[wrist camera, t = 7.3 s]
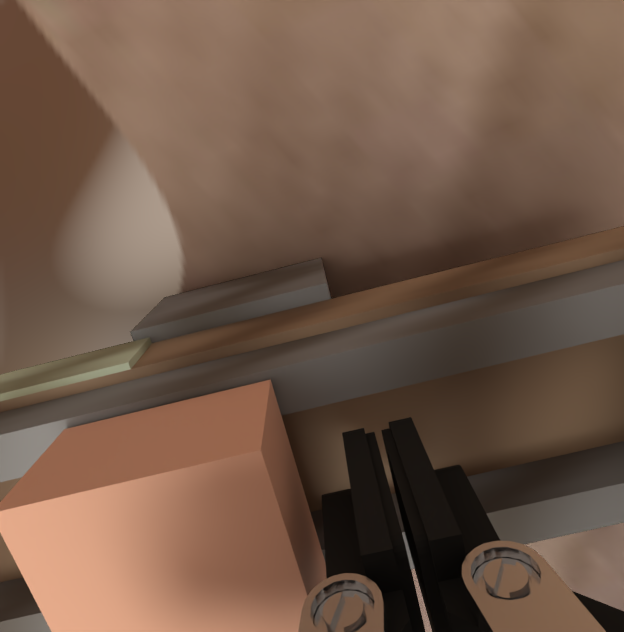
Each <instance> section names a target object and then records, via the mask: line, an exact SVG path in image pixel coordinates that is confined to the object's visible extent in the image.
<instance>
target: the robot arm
mask: <svg viewBox="0 0 624 632" xmlns="http://www.w3.org/2000/svg"><path fill="white" fill-rule="evenodd" d="M381 431H382V436H383V440H384V445H385V449H386V454H387V458H388V462H389V467H390V471H391V475H392V480H393V484H394V489H395V493H396V497H397V502H398V506H399V510H400V515H401V519H402V524H403V528H404V532H405V536H406V539H407V543H408V546H409V550H410V554H411V557H412V561H413V564H414V568H415V571H416V575H417V578H418V582H419V586H420V589H421V593H422V596H423V600H424V603H425V607H426V611H427V614H428V618H429V621H430V625H431V628H432V632H624V611H621V610H619V609H616V608H613V607H611V606H608V605H606V604H603V603H601V602H598V601H596V600H593V599H591V598H588V597H586V596H583V595H581V594H578V593H576V592H573V591H571V590H570V589H569V587H568V586H567V585H566V584H565V583H564V581H563V580H562V579H561V578H560V577H559V576H558V574H557V573H556V572H555V571H554V570H553V569H552V567H551V566H550V565H549V564H548V563H547V561H546V560H545V559H544V558H543V557H542V556H541V555H539V554H538V553H537V552H536V551H535V550H533V549H531V548H529V547H527V546H525V545H523V544H520V543H516V542H512V541H500V539H499V537H498V535H497V533H496V531H495V529H494V527H493V525H492V523H491V522H490V520H489V518H488V516H487V514H486V512H485V510H484V508H483V506H482V504H481V503H480V501H479V499H478V497H477V495H476V493H475V491H474V489H473V487H472V485H471V484H470V482H469V480H468V478H467V476H466V474H465V472H464V470H463V469H462V467H461V465H454V466H450V467H445V468H441V469H436V470H434V469H433V467H432V464H431V462H430V460H429V457H428V455H427V453H426V450H425V448H424V446H423V443H422V441H421V439H420V436H419V434H418V432H417V429H416V427H415V425H414V423H413V420H412V418H411V417H409V418H405V419H400V420H396V421H391V422H389V428H388V429H384V430H381ZM342 436H343V442H344V449H345V455H346V462H347V468H348V475H349V481H350V489H346V490H341V491H337V492H332V493H328V494H323V495H322V514H323V530H324V546H325V562H326V578H327V579H325V580H323V581H321V582H320V583H319V584H318V585H317V586H315V587H314V588H313V589H312V590H311V592H310V593H309V594H308V596H307V597H306V599H305V602H304V605H303V608H302V612H301V618H300V624H299V630H298V632H425V629H424V624H423V620H422V615H421V611H420V607H419V602H418V598H417V594H416V589H415V585H414V581H413V576H412V572H411V568H410V563H409V559H408V555H407V551H406V547H405V543H404V539H403V535H402V531H401V528H400V524H399V520H398V517H397V513H396V509H395V506H394V502H393V498H392V495H391V491H390V487H389V484H388V480H387V476H386V473H385V469H384V465H383V462H382V458H381V454H380V451H379V447H378V443H377V440H376V436H375V433H374V432H371V433H366V434H365V430H364V428H361V429H356V430H352V431H347V432H343V433H342Z"/></svg>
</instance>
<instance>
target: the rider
mask: <svg viewBox="0 0 624 632" xmlns="http://www.w3.org/2000/svg"><path fill="white" fill-rule="evenodd" d="M0 533H1V535H2V537H3V539H4V541H5V543H6V545H7V547H8V549H9V551H10V552H11V554H12V556H13V558H14V560H15V562H16V564H17V566H18V568H19V570H20V572H21V574H22V576H23V578H24V580H25V581H26V583H27V585H28V587H29V589H30V591H31V593H32V595H33V597H34V599H35V601H36V603H37V605H38V607H39V608H40V610H41V612H42V614H43V616H44V618H45V620H46V622H47V624H48V626H49V628H50V630H51V632H298V630H299V624H300V618H301V612H302V608H303V605H304V602H305V599H306V597H307V596H308V594H309V593H310V592H311V590H312V589H313V588H314V587H315V586H317V585H318V584H319V583H320V582H321V581H323V580H325V579H327V578H326V563H325V560H324V556H323V553H322V550H321V546H320V543H319V540H318V536H317V533H316V529H315V526H314V523H313V519H312V516H311V513H310V509H309V506H308V503H307V499H306V496H305V493H304V489H303V486H302V483H301V479H300V476H299V473H298V469H297V466H296V463H295V459H294V456H293V453H292V449H291V446H290V443H289V439H288V436H287V433H286V429H285V426H284V423H283V419H282V416H281V413H280V409H279V406H278V403H277V399H276V396H275V393H274V389H273V386H272V383H271V379H270V380H266V381H262V382H258V383H254V384H250V385H245V386H241V387H237V388H233V389H229V390H225V391H221V392H216V393H212V394H208V395H204V396H200V397H196V398H192V399H187V400H183V401H179V402H175V403H171V404H167V405H163V406H158V407H154V408H150V409H146V410H142V411H138V412H134V413H129V414H125V415H121V416H117V417H113V418H109V419H105V420H100V421H96V422H92V423H88V424H84V425H80V426H76V427H71V428H67V429H64V430H63V431H62V432H61V434H60V435H59V436H58V437H57V438H56V439H55V440H54V442H53V443H52V444H51V445H50V446H49V447H48V448H47V450H46V451H45V452H44V453H43V454H42V455H41V456H40V457H39V459H38V460H37V461H36V462H35V463H34V464H33V465H32V467H31V468H30V469H29V470H28V471H27V472H26V473H25V475H24V476H23V477H22V478H21V479H20V480H19V481H18V482H17V484H16V485H15V486H14V487H13V488H12V489H11V490H10V492H9V493H8V494H7V495H6V496H5V497H4V498H3V500H2V501H1V502H0Z"/></svg>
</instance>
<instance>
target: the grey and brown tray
mask: <svg viewBox="0 0 624 632" xmlns="http://www.w3.org/2000/svg"><path fill="white" fill-rule="evenodd" d="M131 335H132V338H133V342H128V343H124V344H120V345H117V346H113V347H108V348H105V349H100V350H96V351H92V352H88V353H84V354H81V355H76V356H72V357H68V358H64V359H60V360H56V361H52V362H48V363H44V364H40V365H36V366H32V367H28V368H24V369H20V370H16V371H12V372H8V373H4V374H0V502H1V501H2V500H3V498H4V497H5V496H6V495H7V494H8V493H9V492H10V490H11V489H12V488H13V487H14V486H15V485H16V484H17V482H18V481H19V480H20V479H21V478H22V477H23V476H24V475H25V473H26V472H27V471H28V470H29V469H30V468H31V467H32V465H33V464H34V463H35V462H36V461H37V460H38V459H39V457H40V456H41V455H42V454H43V453H44V452H45V451H46V450H47V448H48V447H49V446H50V445H51V444H52V443H53V442H54V440H55V439H56V438H57V437H58V436H59V435H60V434H61V432H62V431H63V430H64V429H67V428H71V427H76V426H80V425H84V424H88V423H92V422H96V421H100V420H105V419H109V418H113V417H117V416H121V415H125V414H129V413H134V412H138V411H142V410H146V409H150V408H154V407H158V406H163V405H167V404H171V403H175V402H179V401H183V400H187V399H192V398H196V397H200V396H204V395H208V394H212V393H216V392H221V391H225V390H229V389H233V388H237V387H241V386H245V385H250V384H254V383H258V382H262V381H266V380H270V379H271V383H272V386H273V389H274V393H275V396H276V399H277V403H278V406H279V409H280V413H281V416H282V419H283V423H284V426H285V429H286V433H287V436H288V439H289V443H290V446H291V449H292V453H293V456H294V459H295V463H296V466H297V469H298V473H299V476H300V479H301V483H302V486H303V489H304V493H305V496H306V499H307V503H308V506H309V509H310V513H311V516H312V519H313V523H314V526H315V529H316V533H317V536H318V540H319V543H320V546H321V550H322V553H323V556H324V560H325V546H324V530H323V514H322V495H323V494H328V493H332V492H337V491H341V490H346V489H350V481H349V475H348V468H347V462H346V455H345V449H344V442H343V436H342V433H343V432H347V431H352V430H356V429H361V428H364V430H365V434H366V433H371V432H374V433H375V436H376V440H377V443H378V447H379V451H380V454H381V458H382V462H383V465H384V469H385V473H386V476H387V480H388V484H389V487H390V491H391V495H392V498H393V502H394V506H395V509H396V513H397V517H398V520H399V524H400V528H401V531H402V535H403V539H404V543H405V547H406V551H407V555H408V559H409V563H410V568H411V569H414V564H413V561H412V557H411V554H410V550H409V546H408V543H407V539H406V536H405V532H404V528H403V524H402V519H401V515H400V510H399V506H398V502H397V497H396V493H395V489H394V484H393V480H392V475H391V471H390V467H389V462H388V458H387V454H386V449H385V445H384V440H383V436H382V431H381V430H384V429H388V428H389V422H391V421H396V420H400V419H405V418H409V417H411V418H412V420H413V423H414V425H415V427H416V429H417V432H418V434H419V436H420V439H421V441H422V443H423V446H424V448H425V450H426V453H427V455H428V457H429V460H430V462H431V464H432V467H433V469H434V470H436V469H441V468H445V467H450V466H454V465H461V467H462V469H463V470H464V472H465V474H466V476H467V478H468V480H469V482H470V484H471V485H472V487H473V489H474V491H475V493H476V495H477V497H478V499H479V501H480V503H481V504H482V506H483V508H484V510H485V512H486V514H487V516H488V518H489V520H490V522H491V523H492V525H493V527H494V529H495V531H496V533H497V535H498V537H499V539H500V541H512V542H516V543H520V544H528V543H533V542H537V541H542V540H546V539H551V538H555V537H560V536H565V535H569V534H574V533H578V532H583V531H587V530H592V529H597V528H601V527H606V526H610V525H615V524H619V523H624V226H622V227H618V228H614V229H610V230H606V231H602V232H598V233H594V234H590V235H586V236H582V237H578V238H574V239H570V240H566V241H562V242H558V243H554V244H550V245H546V246H542V247H538V248H534V249H530V250H526V251H522V252H518V253H514V254H510V255H506V256H502V257H498V258H493V259H489V260H485V261H481V262H477V263H473V264H469V265H465V266H461V267H457V268H453V269H449V270H445V271H441V272H437V273H433V274H429V275H425V276H421V277H417V278H413V279H409V280H405V281H401V282H397V283H393V284H389V285H385V286H381V287H377V288H373V289H369V290H365V291H361V292H357V293H353V294H348V295H344V296H340V297H336V298H331V294H330V290H329V286H328V282H327V278H326V274H325V270H324V266H323V262H322V258H319V259H315V260H311V261H307V262H303V263H299V264H295V265H291V266H287V267H283V268H279V269H275V270H271V271H267V272H263V273H259V274H255V275H252V276H248V277H244V278H240V279H236V280H232V281H228V282H224V283H220V284H216V285H212V286H208V287H204V288H200V289H196V290H192V291H188V292H184V293H180V294H176V295H172V296H169V297H165V298H164V299H163V300H161V302H159V304H158V305H157V306H156V307H155V308H154V309H153V310H152V311H151V312H150V313H149V314H148V315H147V316H146V317H145V318H144V319H143V320H142V321H141V322H140V323H139V324H138V325H137V326H136V327H135V328H134V329H133V330H132V331H131ZM325 563H326V562H325ZM0 632H51V630H50V628H49V626H48V624H47V622H46V620H45V618H44V616H43V614H42V612H41V610H40V608H39V607H38V605H37V603H36V601H35V599H34V597H33V595H32V593H31V591H30V589H29V587H28V585H27V583H26V581H25V580H24V578H23V576H22V574H21V572H20V570H19V568H18V566H17V564H16V562H15V560H14V558H13V556H12V554H11V552H10V551H9V549H8V547H7V545H6V543H5V541H4V539H3V537H2V535H1V533H0Z"/></svg>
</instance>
